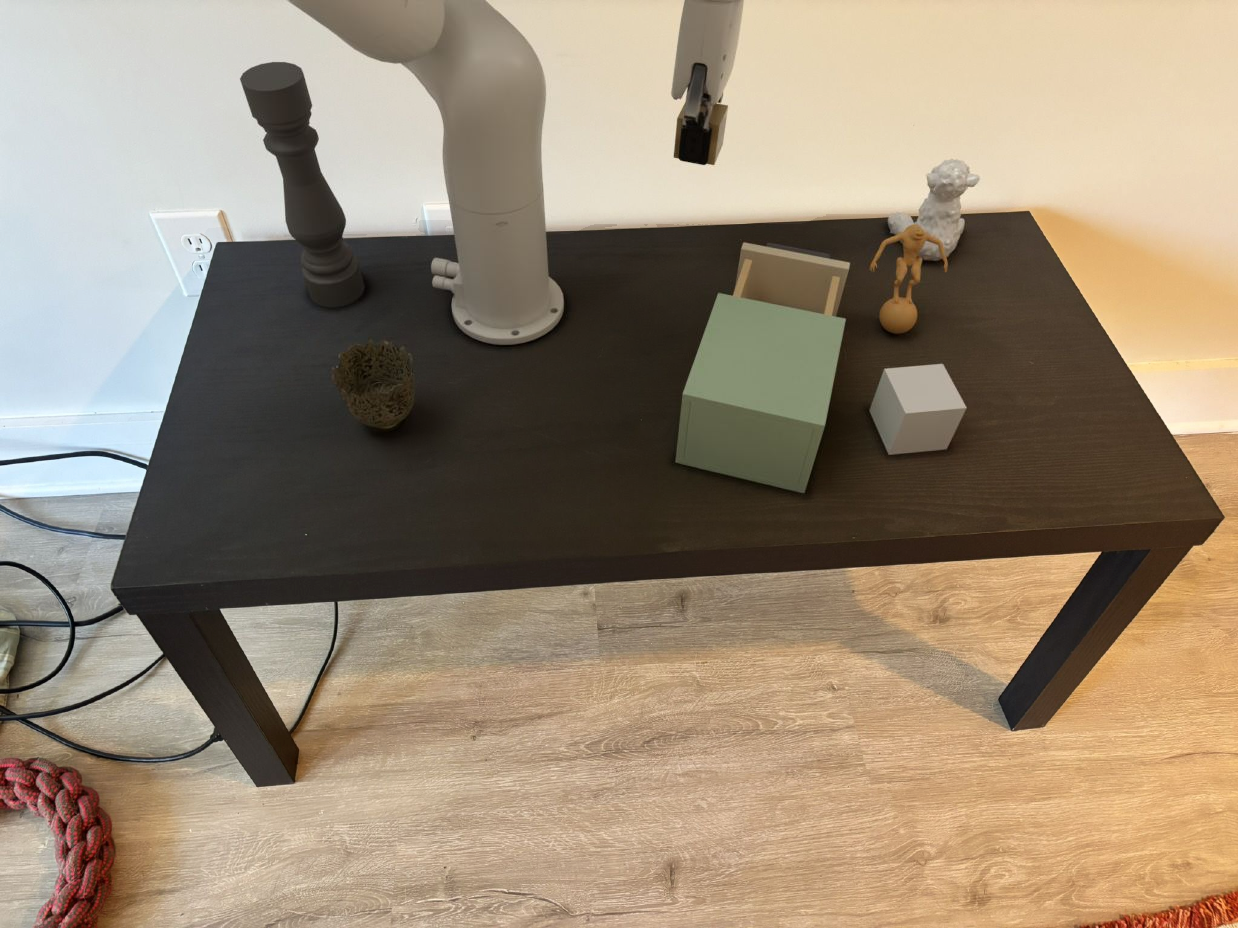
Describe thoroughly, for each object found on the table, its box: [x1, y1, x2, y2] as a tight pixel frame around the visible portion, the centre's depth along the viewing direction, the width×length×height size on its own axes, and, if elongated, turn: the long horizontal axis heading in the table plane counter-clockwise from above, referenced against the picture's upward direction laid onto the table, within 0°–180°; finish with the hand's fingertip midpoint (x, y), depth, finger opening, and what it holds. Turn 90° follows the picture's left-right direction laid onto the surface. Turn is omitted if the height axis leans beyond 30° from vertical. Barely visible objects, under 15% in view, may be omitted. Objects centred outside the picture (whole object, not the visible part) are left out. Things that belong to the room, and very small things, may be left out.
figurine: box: [869, 225, 949, 335], centre depth 91 cm, size 8×6×12 cm
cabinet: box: [675, 292, 847, 494], centre depth 82 cm, size 15×13×10 cm
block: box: [673, 103, 729, 166], centre depth 92 cm, size 5×5×5 cm
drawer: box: [732, 242, 851, 317], centre depth 90 cm, size 18×11×8 cm, turn 163°
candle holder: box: [239, 61, 366, 308], centre depth 88 cm, size 6×6×25 cm
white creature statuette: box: [887, 158, 981, 262], centre depth 100 cm, size 10×9×12 cm
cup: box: [330, 339, 416, 435], centre depth 82 cm, size 8×7×8 cm
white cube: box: [869, 363, 967, 456], centre depth 83 cm, size 6×6×6 cm
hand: (698, 148), depth 93 cm, fingers closed on block, 4 cm apart
